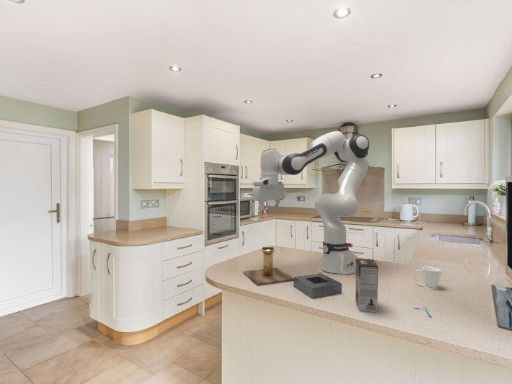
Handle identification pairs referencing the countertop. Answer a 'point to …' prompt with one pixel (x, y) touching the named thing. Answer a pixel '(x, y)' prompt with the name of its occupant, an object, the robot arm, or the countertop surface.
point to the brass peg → (267, 261)
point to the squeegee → (426, 311)
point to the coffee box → (366, 285)
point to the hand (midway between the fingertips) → (269, 209)
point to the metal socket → (317, 285)
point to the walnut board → (268, 277)
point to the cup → (430, 276)
